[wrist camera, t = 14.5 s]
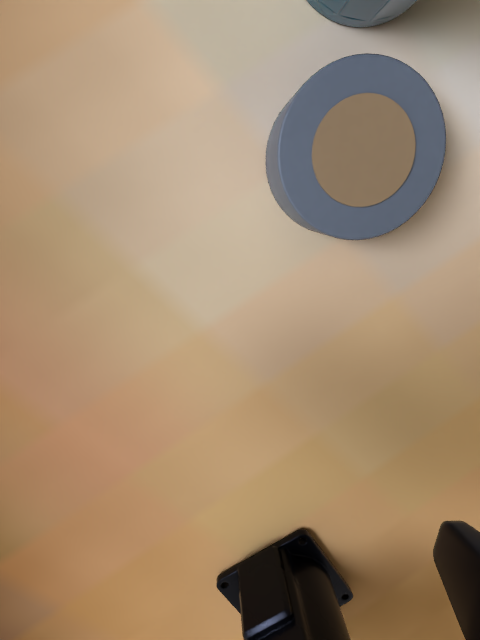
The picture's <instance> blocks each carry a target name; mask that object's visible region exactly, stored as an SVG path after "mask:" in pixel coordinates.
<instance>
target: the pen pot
mask: <svg viewBox="0 0 480 640" xmlns="http://www.w3.org/2000/svg"><path fill="white" fill-rule="evenodd" d="M307 1H308V2H309V4H310V5H311V6H312V7H313V8H314V9H316V10H317V11H318V12H319V13H320V14H322V15H323V16H325V17H326V18H328V19H330V20H332V21H334V22H336V23H339V24H343V25H346V26H352V27H370V26H376V25H380V24H383V23H386V22H388V21H390V20H392V19H394V18H396V17H398V16H399V15H401V14H402V13H404V12H405V11H406V10H408V9H409V8H410V7H411V6H412V5H413V4H414V3H415V2H416V1H418V0H307Z"/></svg>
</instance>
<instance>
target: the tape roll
mask: <svg viewBox="0 0 480 640" xmlns="http://www.w3.org/2000/svg"><path fill="white" fill-rule="evenodd" d="M445 148H446V131H445V123H444V118H443V113H442V110H441V107H440V104H439V102H438V100H437V98H436V96H435V94H434V92H433V90H432V89H431V87H430V86H429V84H428V83H427V82H426V81H425V80H424V78H423V77H422V76H421V75H420V74H419V73H418V72H416V71H415V70H414V69H413V68H411V67H410V66H408V65H407V64H405V63H403V62H401V61H399V60H397V59H394V58H392V57H389V56H384V55H379V54H357V55H352V56H348V57H344V58H341V59H339V60H336V61H334V62H332V63H330V64H328V65H327V66H325V67H323V68H321V69H320V70H319V71H318V72H316V73H315V74H314V75H312V76H311V77H310V78H309V79H308V80H307V81H306V82H305V83H304V84H303V85H302V87H301V88H300V89H299V90H298V91H297V92H296V94H295V95H294V96H293V97H292V98H291V99H290V101H289V102H288V103H287V104H286V105H285V107H284V108H283V109H282V111H281V112H280V114H279V115H278V117H277V119H276V120H275V122H274V125H273V127H272V129H271V132H270V135H269V139H268V143H267V149H266V173H267V178H268V183H269V186H270V189H271V191H272V194H273V196H274V198H275V200H276V201H277V203H278V204H279V206H280V207H281V209H282V210H283V211H284V212H285V213H286V214H287V215H288V216H289V217H290V218H291V219H292V220H293V221H295V222H296V223H298V224H299V225H301V226H303V227H305V228H307V229H309V230H312V231H315V232H319V233H322V234H325V235H329V236H332V237H335V238H339V239H345V240H363V239H370V238H374V237H378V236H381V235H383V234H386V233H388V232H390V231H392V230H394V229H396V228H398V227H399V226H401V225H402V224H403V223H405V222H406V221H408V220H409V219H410V218H411V217H412V216H413V215H414V214H415V213H416V212H417V211H418V210H419V209H420V208H421V206H422V205H423V204H424V203H425V201H426V200H427V198H428V197H429V196H430V194H431V192H432V190H433V188H434V187H435V185H436V183H437V180H438V178H439V175H440V172H441V169H442V165H443V162H444V156H445Z"/></svg>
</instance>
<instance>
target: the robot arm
mask: <svg viewBox="0 0 480 640" xmlns="http://www.w3.org/2000/svg"><path fill="white" fill-rule="evenodd" d="M301 538H304V539H301ZM433 557H434V561H435V564H436V567H437V569H438V572H439V574H440V577H441V580H442V582H443V585H444V587H445V590H446V592H447V595H448V597H449V600H450V602H451V605H452V607H453V610H454V612H455V615H456V617H457V620H458V622H459V625H460V627H461V630H462V632H463V635H464V637H465V639H466V640H480V532H479V531H477V530H476V529H474V528H473V527H471V526H470V525H468V524H467V523H465V522H463V521H444V522H443V523H442V524H441V526H440V529H439V532H438V536H437V539H436V542H435V546H434V549H433ZM217 588H218V590H219V591H220V592H221V593H222V594H223V595H224V596H225V597H226V598H227V600H228V601H229V602H230V603H231V604H232V605H233V606H234V607H235V608H236V609H237V611H238V612H239V613H240V614H241V621H242V633H243V637H244V640H351V639H350V636H349V633H348V630H347V627H346V624H345V621H344V618H343V615H342V612H341V609H340V606H342V605H343V604H345V603H347V602H349V601H350V600H351V599H352V598H353V594H352V592H351V589H350V587H349V586H348V584H347V583H346V582H345V580H344V579H343V578H342V576H341V575H340V574H339V572H338V571H337V570H336V568H335V567H334V566H333V564H332V563H331V562H330V560H329V559H328V558H327V556H326V555H325V554H324V552H323V551H322V550H321V548H320V547H319V546H318V544H317V543H316V542H315V540H314V539H313V538H312V536H311V535H310V534H309V532H308V531H307V530H304V529H300V530H297V531H296V532H294V533H292V534H290V535H289V536H287V537H285V538H283V539H281V540H280V541H278V542H276V543H274V544H273V545H271V546H269V547H267V548H266V549H264V550H262V551H260V552H259V553H257V554H255V555H253V556H251V557H250V558H248V559H246V560H244V561H243V562H241V563H239V564H237V565H236V566H234V567H232V568H230V569H229V570H227V571H225V572H223V573H221V574H220V575H219V576H218V577H217Z"/></svg>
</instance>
